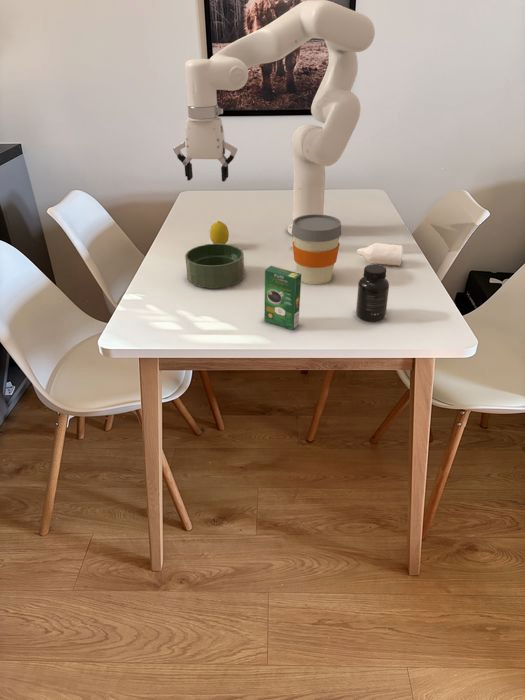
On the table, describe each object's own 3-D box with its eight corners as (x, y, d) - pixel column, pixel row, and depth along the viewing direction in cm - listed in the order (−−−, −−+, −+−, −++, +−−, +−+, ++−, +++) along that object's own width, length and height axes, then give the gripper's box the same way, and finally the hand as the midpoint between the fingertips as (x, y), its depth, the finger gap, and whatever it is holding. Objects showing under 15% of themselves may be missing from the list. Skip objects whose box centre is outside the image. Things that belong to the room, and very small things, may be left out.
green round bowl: (248, 267, 154) (247, 244, 150) (239, 291, 141) (238, 267, 138) (194, 264, 156) (193, 242, 152) (181, 288, 143) (178, 264, 140)
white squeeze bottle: (356, 257, 159) (358, 238, 156) (400, 260, 157) (402, 241, 154) (355, 265, 154) (356, 246, 151) (399, 269, 152) (402, 249, 149)
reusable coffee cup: (306, 291, 141) (308, 234, 133) (282, 273, 150) (282, 218, 142) (347, 281, 146) (352, 225, 138) (321, 264, 155) (324, 211, 147)
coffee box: (300, 326, 126) (302, 272, 119) (294, 331, 124) (295, 277, 117) (270, 316, 130) (270, 264, 123) (263, 322, 128) (263, 269, 121)
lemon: (226, 251, 164) (225, 224, 159) (208, 250, 165) (206, 223, 160) (231, 244, 168) (230, 218, 164) (213, 243, 169) (212, 217, 165)
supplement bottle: (352, 309, 132) (356, 262, 126) (381, 308, 133) (386, 261, 126) (359, 324, 126) (363, 275, 120) (389, 322, 127) (395, 274, 120)
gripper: (238, 110, 146) (240, 177, 155) (174, 110, 148) (180, 175, 158) (232, 116, 140) (235, 184, 149) (166, 115, 142) (172, 182, 151)
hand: (207, 179), depth 153 cm, fingers open, 9 cm apart
